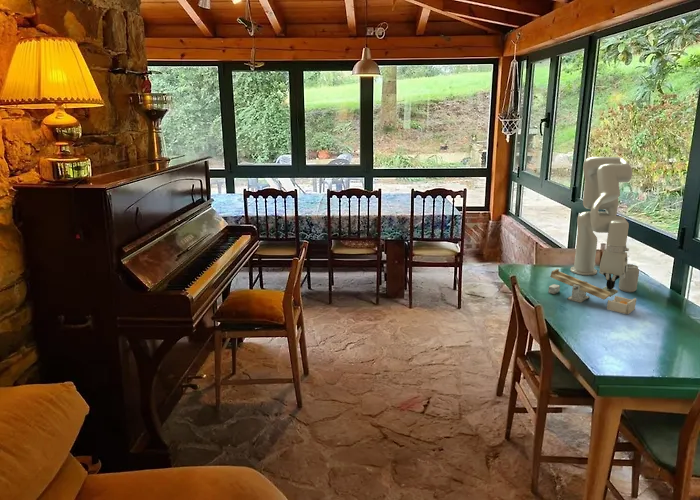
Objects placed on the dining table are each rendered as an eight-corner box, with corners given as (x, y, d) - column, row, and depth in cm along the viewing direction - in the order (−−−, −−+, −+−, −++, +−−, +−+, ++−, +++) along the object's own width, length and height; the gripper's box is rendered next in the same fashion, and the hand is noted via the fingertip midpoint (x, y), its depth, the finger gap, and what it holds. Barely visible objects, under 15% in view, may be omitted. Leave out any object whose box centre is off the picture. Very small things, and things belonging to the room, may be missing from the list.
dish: (614, 304, 228) (615, 293, 227) (634, 309, 222) (636, 298, 221) (606, 309, 223) (608, 298, 221) (627, 314, 217) (629, 303, 215)
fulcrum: (545, 294, 240) (546, 279, 239) (556, 288, 248) (557, 274, 246) (580, 303, 229) (581, 287, 227) (590, 297, 236) (592, 282, 234)
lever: (550, 276, 240) (551, 271, 239) (563, 270, 249) (565, 265, 248) (605, 300, 224) (607, 294, 223) (617, 292, 233) (619, 286, 232)
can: (632, 287, 248) (635, 263, 245) (639, 293, 241) (642, 268, 238) (615, 287, 249) (619, 263, 246) (621, 292, 242) (625, 267, 239)
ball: (630, 307, 221) (621, 308, 224) (628, 299, 221) (619, 300, 224) (627, 309, 219) (618, 310, 221) (625, 301, 219) (616, 302, 221)
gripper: (637, 250, 224) (631, 290, 229) (601, 243, 235) (596, 282, 240) (630, 253, 219) (624, 294, 224) (594, 246, 230) (589, 286, 235)
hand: (610, 288), depth 232 cm, fingers closed
